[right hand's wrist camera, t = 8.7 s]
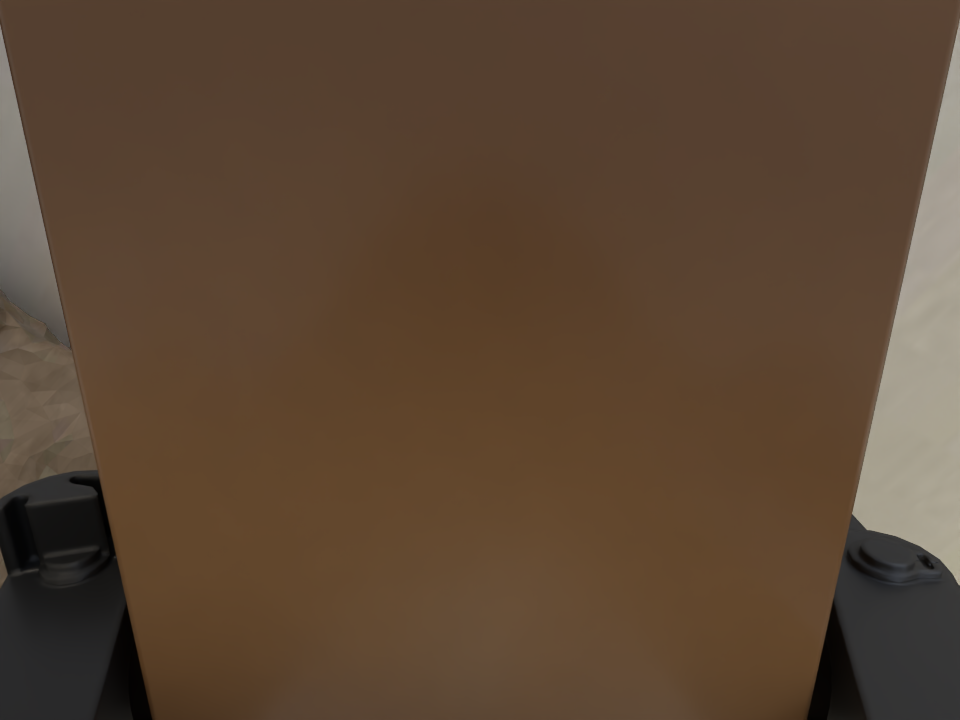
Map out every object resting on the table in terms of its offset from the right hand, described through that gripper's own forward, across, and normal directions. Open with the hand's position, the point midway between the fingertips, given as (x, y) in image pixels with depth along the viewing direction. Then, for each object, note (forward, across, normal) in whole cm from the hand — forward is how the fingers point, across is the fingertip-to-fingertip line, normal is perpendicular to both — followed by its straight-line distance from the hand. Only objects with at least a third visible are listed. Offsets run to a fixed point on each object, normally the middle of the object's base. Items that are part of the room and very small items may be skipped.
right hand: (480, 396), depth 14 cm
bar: (+1, 0, -11) cm, 11 cm away
